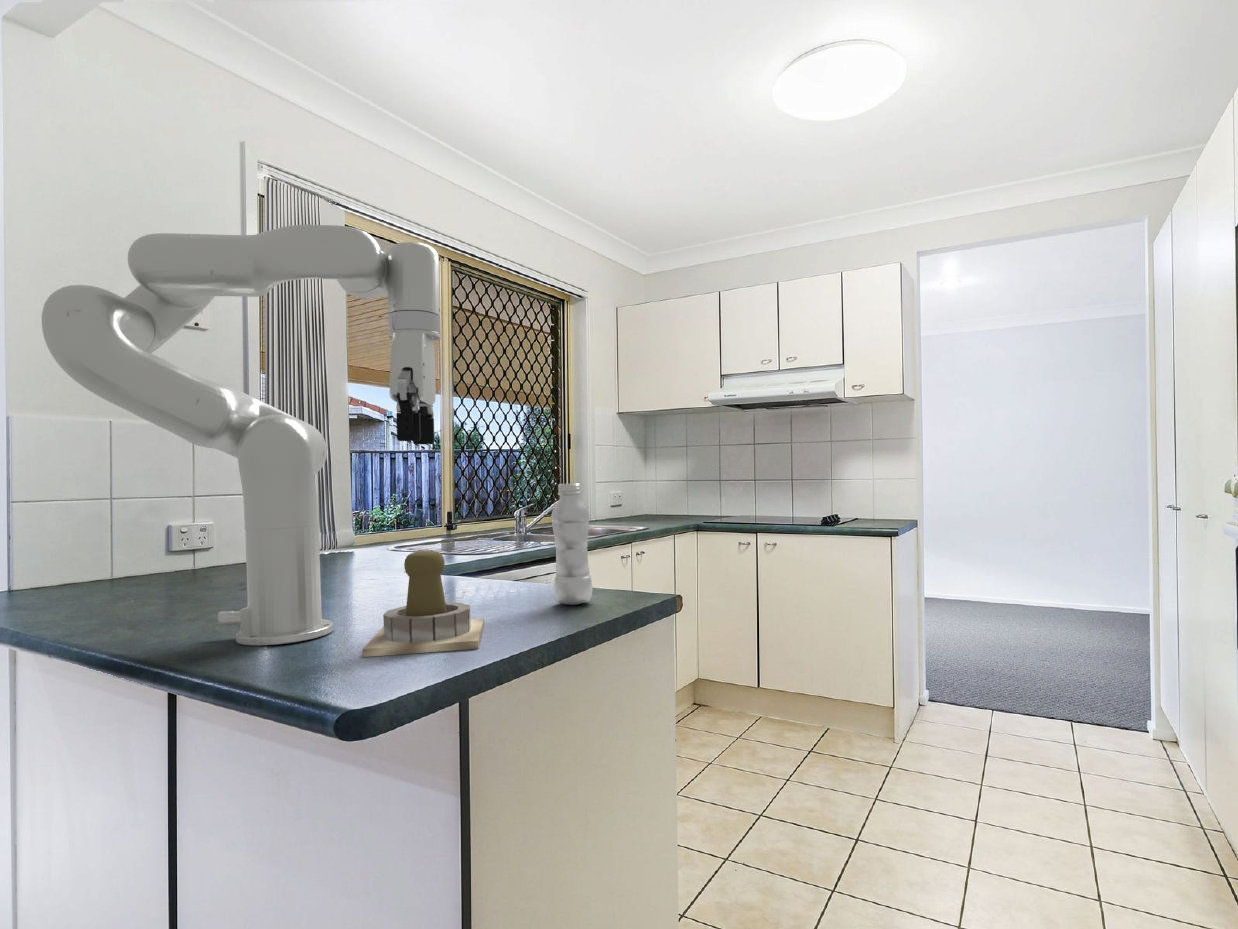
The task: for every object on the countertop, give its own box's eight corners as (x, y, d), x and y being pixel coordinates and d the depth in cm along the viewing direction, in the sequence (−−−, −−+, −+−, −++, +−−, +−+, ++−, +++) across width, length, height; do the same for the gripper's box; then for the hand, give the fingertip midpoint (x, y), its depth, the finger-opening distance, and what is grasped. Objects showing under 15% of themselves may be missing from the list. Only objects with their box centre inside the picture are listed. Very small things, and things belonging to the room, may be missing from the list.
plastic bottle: (598, 600, 118) (593, 482, 118) (585, 608, 111) (580, 483, 112) (562, 600, 120) (558, 484, 120) (548, 608, 113) (543, 485, 113)
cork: (441, 638, 90) (438, 553, 90) (396, 639, 90) (393, 554, 90) (456, 628, 96) (453, 548, 96) (413, 629, 96) (410, 549, 97)
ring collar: (362, 657, 86) (361, 624, 86) (384, 632, 100) (383, 604, 100) (478, 648, 88) (477, 616, 88) (484, 625, 102) (483, 598, 102)
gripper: (403, 340, 113) (405, 445, 113) (372, 315, 96) (374, 439, 95) (450, 339, 113) (452, 444, 113) (427, 314, 96) (430, 438, 96)
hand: (416, 442), depth 104 cm, fingers open, 9 cm apart
